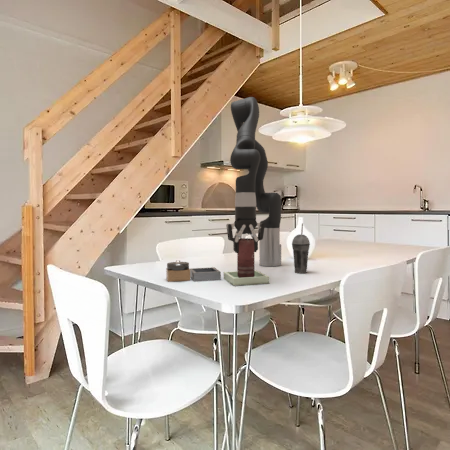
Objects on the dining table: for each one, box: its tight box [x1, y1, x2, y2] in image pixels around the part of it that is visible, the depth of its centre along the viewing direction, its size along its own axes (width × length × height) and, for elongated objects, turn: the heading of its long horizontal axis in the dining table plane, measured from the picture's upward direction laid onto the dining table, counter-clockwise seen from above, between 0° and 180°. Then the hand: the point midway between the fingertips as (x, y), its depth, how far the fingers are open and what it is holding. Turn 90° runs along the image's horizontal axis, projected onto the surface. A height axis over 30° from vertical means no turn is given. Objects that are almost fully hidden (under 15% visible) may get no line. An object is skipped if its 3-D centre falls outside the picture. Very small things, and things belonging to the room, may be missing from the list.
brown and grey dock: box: [165, 260, 222, 283], centre depth 134 cm, size 19×10×7 cm, turn 105°
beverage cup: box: [291, 223, 311, 274], centre depth 145 cm, size 7×7×20 cm
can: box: [236, 237, 255, 278], centre depth 129 cm, size 6×6×14 cm
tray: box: [223, 269, 270, 287], centre depth 129 cm, size 13×13×2 cm
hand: (245, 252), depth 129 cm, fingers closed on can, 6 cm apart
